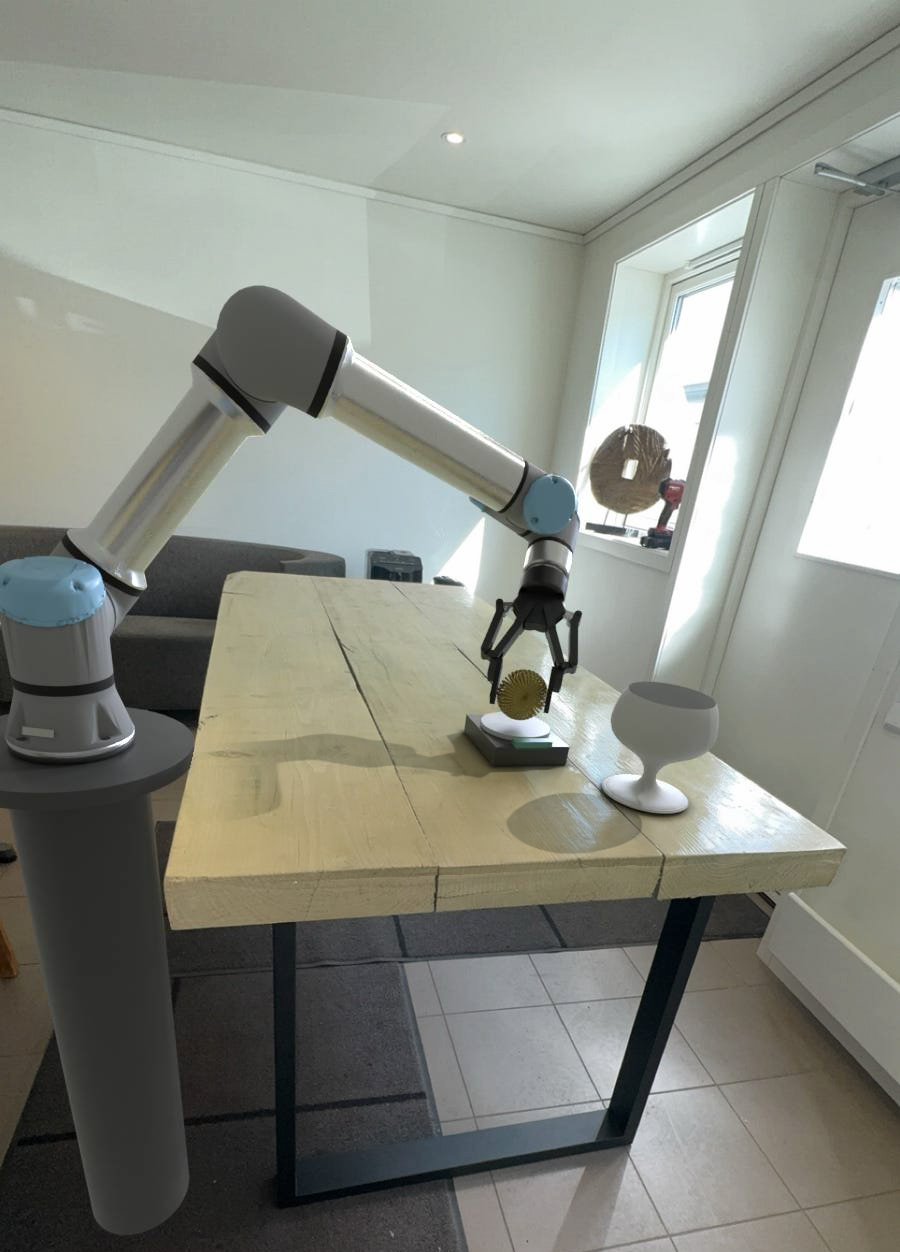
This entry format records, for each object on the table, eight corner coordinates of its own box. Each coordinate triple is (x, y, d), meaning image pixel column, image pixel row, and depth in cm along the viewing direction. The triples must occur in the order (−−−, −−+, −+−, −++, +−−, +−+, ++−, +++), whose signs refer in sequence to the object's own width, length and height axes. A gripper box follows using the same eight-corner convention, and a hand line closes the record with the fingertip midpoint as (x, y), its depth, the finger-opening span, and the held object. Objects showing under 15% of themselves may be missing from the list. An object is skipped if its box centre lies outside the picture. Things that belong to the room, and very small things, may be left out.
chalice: (715, 808, 93) (748, 707, 86) (649, 827, 85) (680, 717, 78) (639, 769, 103) (664, 675, 96) (574, 783, 95) (596, 682, 88)
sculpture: (497, 723, 100) (505, 672, 97) (490, 714, 104) (497, 664, 100) (546, 725, 102) (555, 675, 98) (537, 715, 106) (546, 667, 102)
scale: (463, 731, 109) (466, 709, 107) (530, 731, 113) (533, 710, 111) (493, 766, 97) (497, 742, 95) (566, 764, 101) (570, 741, 99)
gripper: (604, 602, 108) (584, 727, 100) (482, 584, 110) (453, 704, 103) (613, 572, 101) (591, 704, 93) (482, 553, 103) (451, 680, 96)
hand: (519, 704), depth 98 cm, fingers closed on sculpture, 7 cm apart
